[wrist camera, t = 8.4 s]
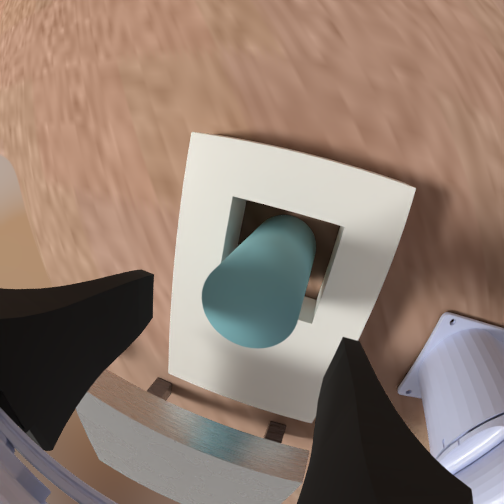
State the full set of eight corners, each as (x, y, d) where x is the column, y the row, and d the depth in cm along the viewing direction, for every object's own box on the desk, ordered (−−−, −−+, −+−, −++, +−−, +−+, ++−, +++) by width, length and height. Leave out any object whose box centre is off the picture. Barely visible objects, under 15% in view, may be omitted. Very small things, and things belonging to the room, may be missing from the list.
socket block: (403, 182, 15) (416, 188, 13) (316, 397, 22) (311, 423, 19) (213, 133, 18) (191, 132, 15) (184, 352, 24) (168, 373, 22)
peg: (323, 224, 18) (311, 278, 10) (306, 282, 19) (284, 359, 12) (261, 207, 18) (207, 247, 11) (249, 265, 20) (197, 330, 13)
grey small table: (325, 351, 20) (302, 482, 10) (283, 435, 25) (252, 527, 15) (156, 294, 23) (63, 374, 13) (156, 387, 28) (99, 459, 18)
